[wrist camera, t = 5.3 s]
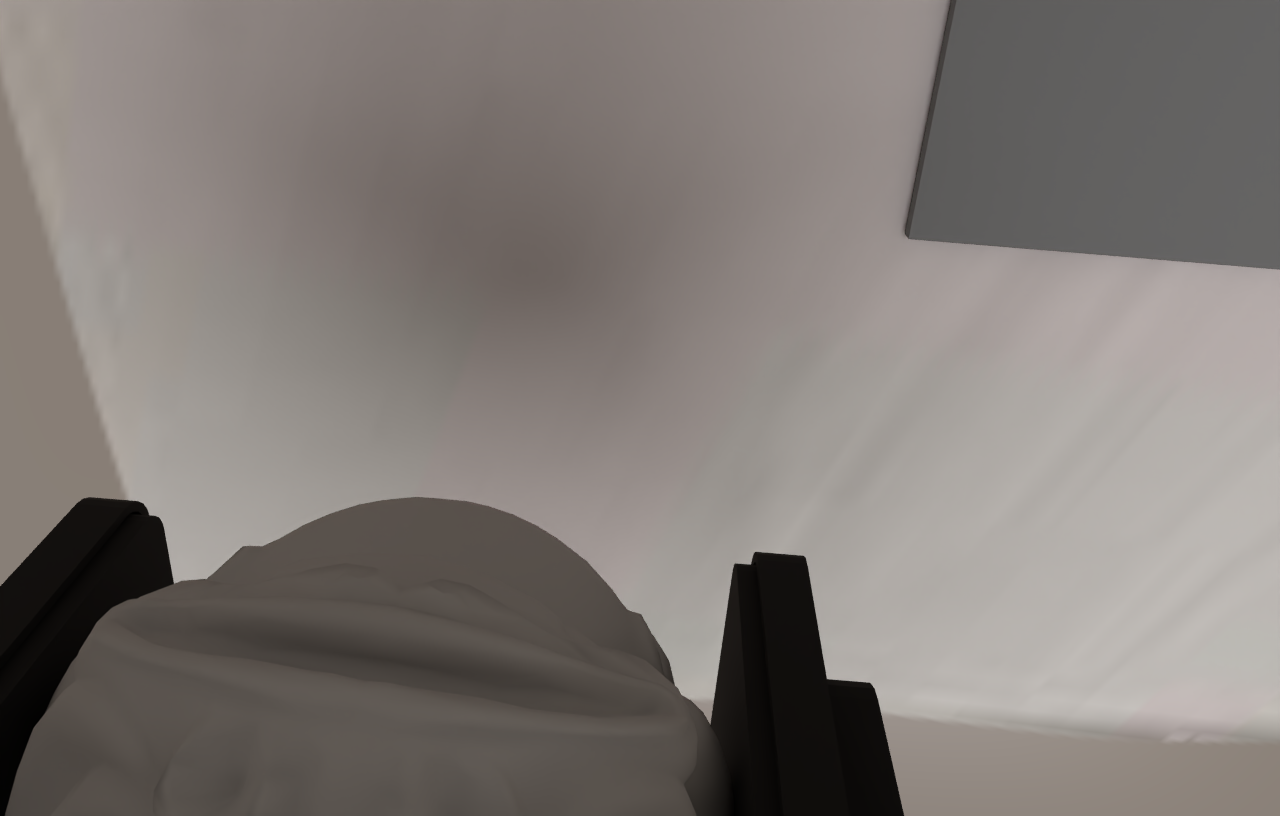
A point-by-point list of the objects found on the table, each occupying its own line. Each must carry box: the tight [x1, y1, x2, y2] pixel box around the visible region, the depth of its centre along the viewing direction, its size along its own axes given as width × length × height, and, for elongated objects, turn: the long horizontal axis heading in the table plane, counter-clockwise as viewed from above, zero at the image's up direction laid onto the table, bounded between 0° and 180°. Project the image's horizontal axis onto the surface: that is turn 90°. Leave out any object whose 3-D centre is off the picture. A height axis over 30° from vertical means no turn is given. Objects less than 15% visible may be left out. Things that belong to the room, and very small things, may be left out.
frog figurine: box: [5, 497, 734, 816], centre depth 9 cm, size 6×7×7 cm
